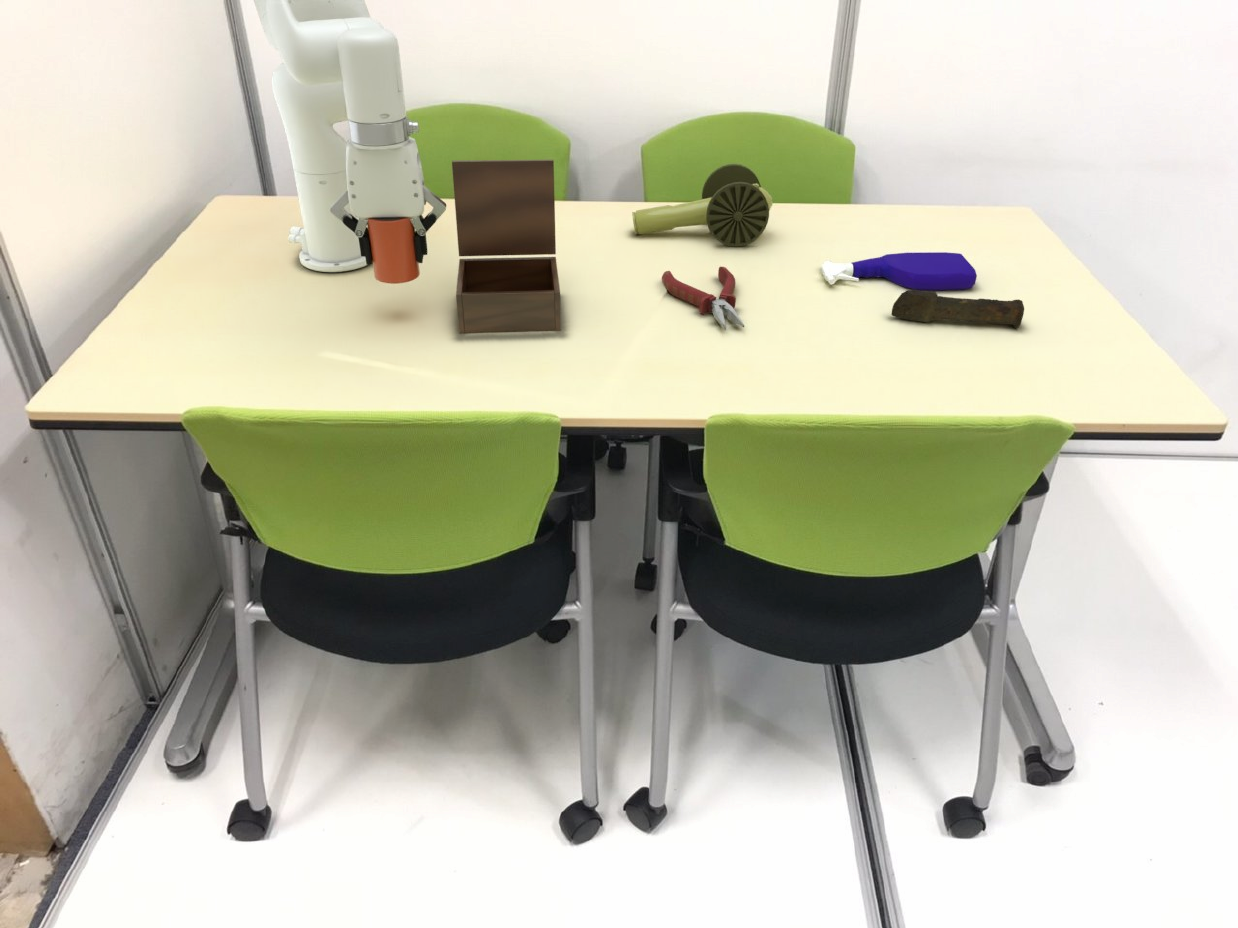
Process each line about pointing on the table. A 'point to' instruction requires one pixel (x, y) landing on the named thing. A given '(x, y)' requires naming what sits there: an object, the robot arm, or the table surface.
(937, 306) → the hand tool
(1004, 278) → the table surface
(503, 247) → the lid
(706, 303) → the pliers
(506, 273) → the box
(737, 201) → the cannon
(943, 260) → the spray bottle
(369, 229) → the tin
